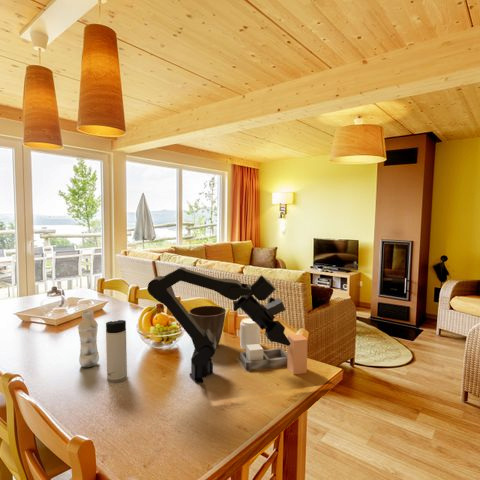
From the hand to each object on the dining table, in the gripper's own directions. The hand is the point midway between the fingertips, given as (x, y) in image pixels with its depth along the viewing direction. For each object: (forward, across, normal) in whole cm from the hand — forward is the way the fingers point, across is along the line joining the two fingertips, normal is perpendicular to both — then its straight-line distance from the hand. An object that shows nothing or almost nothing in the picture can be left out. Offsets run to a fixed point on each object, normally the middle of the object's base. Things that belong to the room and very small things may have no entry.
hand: (285, 339), depth 114 cm
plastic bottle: (-39, +18, +57) cm, 72 cm away
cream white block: (+2, +8, +14) cm, 16 cm away
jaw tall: (+12, 0, +6) cm, 13 cm away
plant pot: (-8, +27, +26) cm, 38 cm away
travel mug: (-31, +7, +49) cm, 58 cm away
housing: (+5, +8, +12) cm, 16 cm away
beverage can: (+4, +23, +14) cm, 28 cm away
